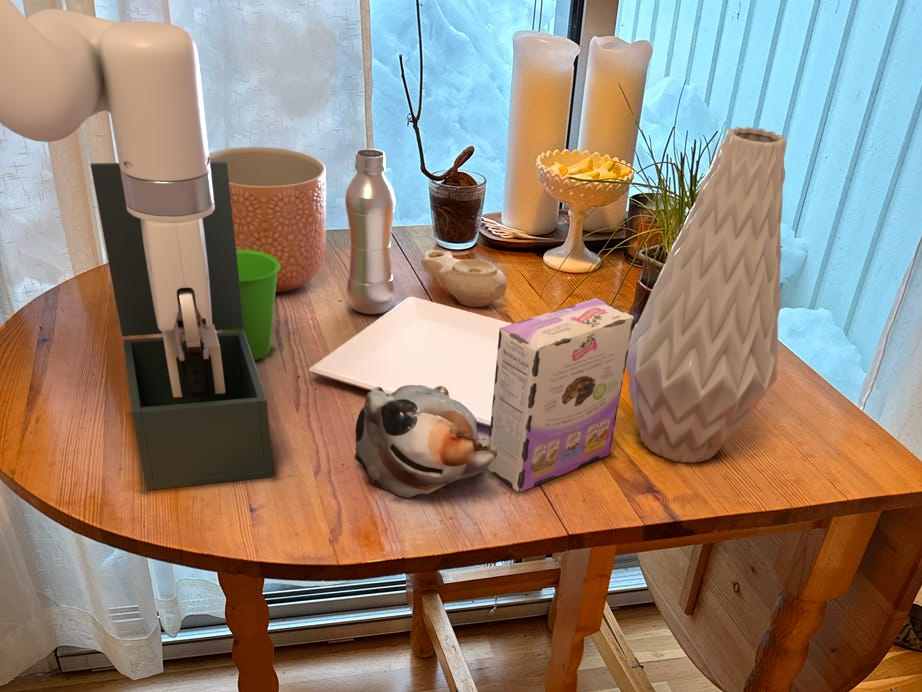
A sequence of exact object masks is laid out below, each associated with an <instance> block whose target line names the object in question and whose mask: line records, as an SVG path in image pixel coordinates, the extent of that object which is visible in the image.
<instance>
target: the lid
mask: <svg viewBox="0 0 922 692" xmlns="http://www.w3.org/2000/svg"><path fill="white" fill-rule="evenodd" d="M90 169H91V175H92V180H93V185H94V191H95V195H96V201H97V202H96V203H97V208H98V213H99V216H100V217H99V219H100V224H101V229H102V235H103V240H104V244H105V245H104V246H105V250H106V256H107V263H108V267H109V272H110V278H111V283H112V289H113V294H114V301H115V306H116V312H117V316H118V321H119V328H120V332H121V337H134V336H135V337H136V336H149V335H150V336H152V335H163V333H162V331H160V330H159V329H158V325H157V320H156V315H155V310H154V305H153V299H152V293H151V287H150V281H149V276H148V270H147V262H146V257H145V251H144V244H143V237H142V229H141V219H140V218H137V217H135V216H133V215H132V214H130V213H129V212H128V211H127V207H126V201H125V195H124V189H123V183H122V177H121V171H120V166H119V162H97V163H96V162H91V163H90ZM210 169H211V177H212V186H213V195H214V204H215V210H214V211H213V212H212V213H211V214H210V215H208V216H206V217H204V218H203V226H204V235H205V244H206V253H207V262H208V272H209V283H210V297H211V313H212V324H214V327H215V331H222V330H229V329H244V322H243V312H242V302H241V293H240V283H239V273H238V264H237V254H236V244H235V235H234V225H233V215H232V206H231V196H230V186H229V177H228V167H227V162H226V161H210Z"/></svg>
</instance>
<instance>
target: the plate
mask: <svg viewBox="0 0 922 692" xmlns="http://www.w3.org/2000/svg"><path fill="white" fill-rule="evenodd" d="M510 324H513V323H512V322H508V321H505V320H501V319H497V318H494V317H489V316H486V315H483V314H479V313H475V312H471V311H467V310H464V309H460V308H456V307H453V306H449V305H446V304H441V303H438V302H434V301H430V300H426V299H423V298H418V297H415V296H408V297H407V298H406V299H404V300H403V301H401V302H400V303H398V304H397V305H396V306H395V307H393V308H391V309H389V310H388V312H387V311H386V313H384V314H383V315H382V316H380V317H379V318H377V319H376V320H375V321H373V322H372V323H370V324H369V325H368V326H367V327H365V328H363V329H362V330H360V331H359V332H358V333H356V334H355V335H353V337H351V338H350V339H348V340H347V341H345V342H344V343H343V344H341V345H340V346H339V347H337V348H335V349H334V350H333V351H331V352H330V353H328V354H327V355H326V356H325V357H323V358H322V359H320V360H319V361H317V362H316V363H314V364H313V365H312V366H310V367H309V368H308V370H309V372H311V374H314V375H317V376H319V377H323V378H326V379H330V380H333V381H336V382H338V383H339V382H340V383H343V384H345V385H350V386H353V387H356V388H360V389H363V390H366V391H369V392H371V391H372V390H373V389H374V388H376V387H381V388H382V389H383V391H384V392H385V393H390V394H392V393H393V392H395V391H396V390H397V389H398V388H400V387H402V386H407V385H416V386H417V385H422V386H427V387H428V388H433V389H435V388H436V387H438V386H443V387H445V388H446V389H447V390H448V393H449V398H451V399H453V400H456V401H458V402H460V403H461V404H463V405H464V406H465V407H467V409H468V410H469V411H470V412H471V413H472V414H473V415H474V417H475V418H476V421H477V424H479V425H482V426H486V427H489V428H490V425H491V416H492V415H491V414H492V404H493V395H494V383H495V372H496V362H497V352H498V341H499V329H500V327H503V326H506V325H510Z"/></svg>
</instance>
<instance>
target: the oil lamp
mask: <svg viewBox="0 0 922 692" xmlns="http://www.w3.org/2000/svg"><path fill="white" fill-rule="evenodd" d="M421 266H422V268H423V270H424V271H425V272H426V273H427V274H428V275H429V276H432V277H433V278H435V279H439V281H440V283H441V285H443V286H444V287H445V288H446V290H447V291H448V292H449V293H450V294H451V295H452V296H453V297H455V299H456V301H457V302H458V303H459V304H461V305H463V306H465V307H471V308H473V307H474V308H478V307H480V308H481V307H486V306H488V305H490V303H492V302H495V301H498V300H500V299H501V298H502V297H503V296H505V294H506V291H507V287H508V285H507V284H508V282H507V278H506V276H505V274H504V273H503V272H502V271H501V270H500V269H499V268H497V266H496V265H495V264H493V263H492V262H489V261H486V260H483V259H473V258H472V259H471V258H470V259H458V258H455V257H454V256H453V253H452V252H451V251H443V250H440V249H436V250H435V249H434V250H432V249H431V250H426V251H425V252H424V253H423V258H422V260H421Z"/></svg>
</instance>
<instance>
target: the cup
mask: <svg viewBox="0 0 922 692" xmlns="http://www.w3.org/2000/svg"><path fill="white" fill-rule="evenodd" d="M236 254H237V264H238V273H239V283H240V293H241V302H242V312H243V322H244V329H229V330H221V333H232V332H244V333H245V336H246V339H247V342H248V345H249V348H250V351H251V354H252V357H253V360H254V361H257V360H258V361H259V360H262V359H264V358H266V357H267V356H268V355H269V352H270V350H271V346H272V345H271V344H272V336H273V335H272V333H273V323H274V313H275V312H274V311H275V303H276V302H275V300H276V293H275V290H276V279H277V272H278V271H279V269H280V263H279V262H278V260H277V259H276V258H274V257H273V256H271V255H269V254H266V253H263V252H259V251H252V250H236Z"/></svg>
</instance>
